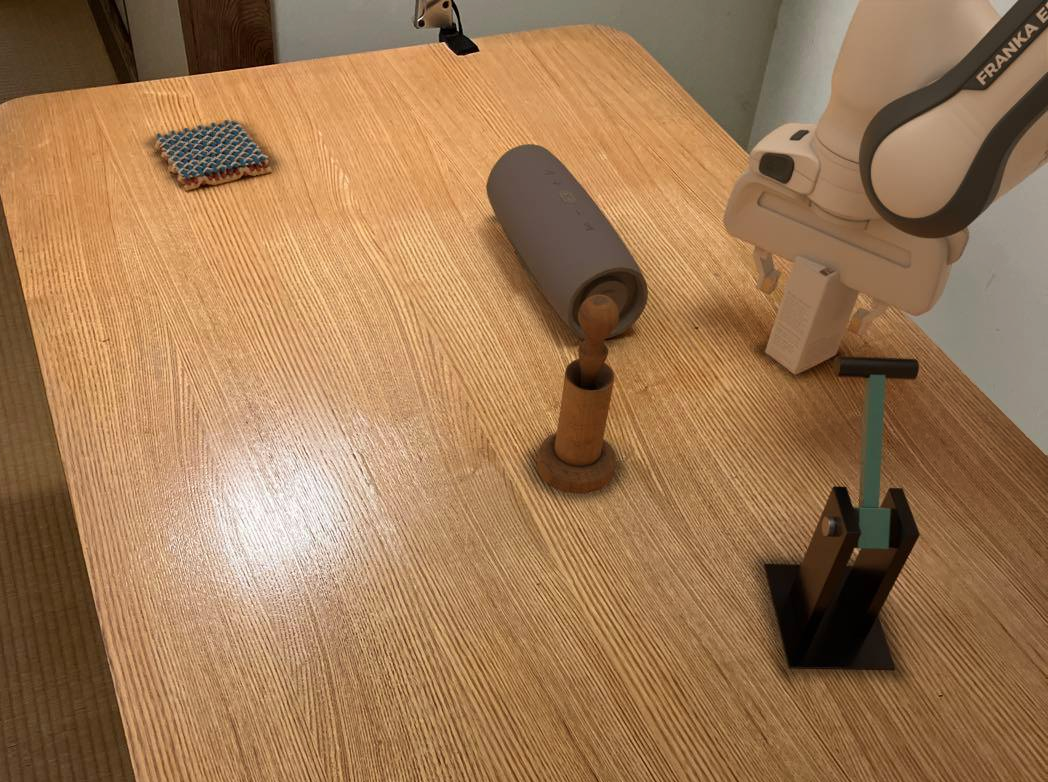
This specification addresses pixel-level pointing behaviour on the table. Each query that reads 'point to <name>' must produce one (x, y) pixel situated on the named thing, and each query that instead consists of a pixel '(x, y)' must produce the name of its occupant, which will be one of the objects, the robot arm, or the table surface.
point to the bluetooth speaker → (563, 237)
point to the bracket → (841, 589)
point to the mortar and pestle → (584, 409)
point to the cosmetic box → (810, 316)
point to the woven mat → (212, 155)
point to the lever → (873, 439)
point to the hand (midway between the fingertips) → (810, 309)
